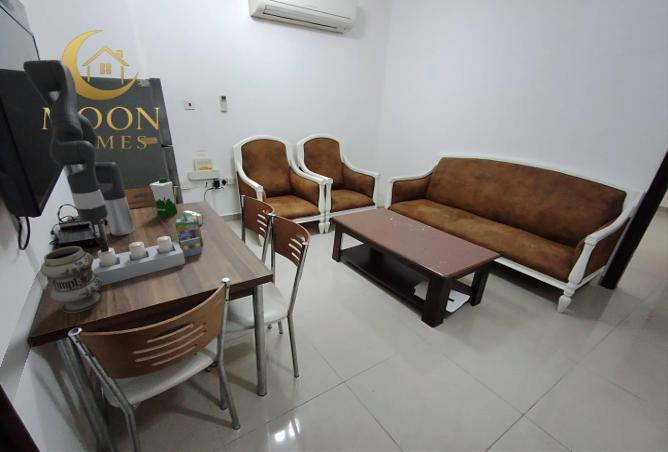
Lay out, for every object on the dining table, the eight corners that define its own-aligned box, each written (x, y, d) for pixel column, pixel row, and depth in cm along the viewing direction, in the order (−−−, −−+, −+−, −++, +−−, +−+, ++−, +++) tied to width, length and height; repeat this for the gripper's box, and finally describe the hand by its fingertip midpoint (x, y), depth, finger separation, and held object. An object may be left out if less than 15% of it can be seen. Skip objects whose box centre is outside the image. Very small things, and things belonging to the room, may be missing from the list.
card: (183, 256, 119) (180, 241, 116) (201, 252, 123) (198, 237, 120) (184, 257, 118) (180, 242, 115) (202, 253, 122) (199, 238, 119)
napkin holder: (181, 219, 156) (179, 209, 154) (204, 216, 161) (202, 207, 159) (182, 230, 144) (179, 219, 142) (206, 226, 149) (205, 216, 146)
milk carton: (180, 212, 165) (173, 177, 157) (169, 218, 157) (161, 181, 149) (166, 211, 166) (158, 176, 158) (154, 216, 158) (146, 180, 150)
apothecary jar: (72, 293, 95) (52, 244, 88) (113, 289, 98) (98, 241, 91) (48, 318, 84) (23, 264, 77) (96, 312, 87) (76, 260, 80)
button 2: (131, 255, 109) (128, 243, 107) (145, 252, 112) (142, 240, 110) (132, 260, 106) (128, 248, 104) (147, 257, 108) (143, 245, 106)
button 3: (158, 249, 114) (155, 237, 112) (171, 246, 117) (169, 235, 115) (160, 254, 111) (157, 242, 109) (173, 250, 113) (171, 239, 111)
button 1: (101, 262, 104) (97, 250, 102) (117, 258, 107) (113, 246, 105) (101, 267, 101) (97, 255, 99) (117, 264, 103) (113, 251, 101)
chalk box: (203, 245, 129) (197, 214, 123) (180, 249, 125) (173, 217, 119) (201, 237, 136) (196, 207, 130) (180, 240, 132) (173, 210, 127)
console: (96, 271, 107) (92, 259, 105) (179, 251, 123) (177, 240, 121) (95, 287, 99) (91, 274, 97) (185, 263, 114) (183, 252, 112)
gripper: (76, 200, 98) (92, 246, 105) (74, 212, 88) (91, 261, 95) (104, 197, 102) (117, 241, 109) (104, 207, 92) (119, 255, 99)
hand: (105, 250), depth 102 cm, fingers closed
